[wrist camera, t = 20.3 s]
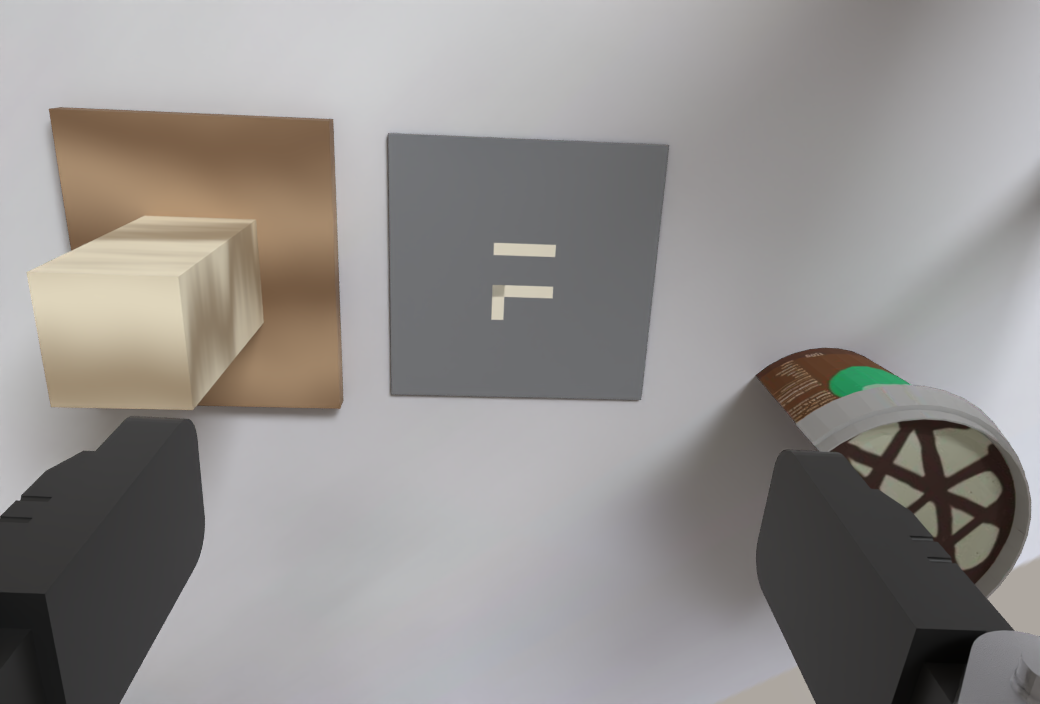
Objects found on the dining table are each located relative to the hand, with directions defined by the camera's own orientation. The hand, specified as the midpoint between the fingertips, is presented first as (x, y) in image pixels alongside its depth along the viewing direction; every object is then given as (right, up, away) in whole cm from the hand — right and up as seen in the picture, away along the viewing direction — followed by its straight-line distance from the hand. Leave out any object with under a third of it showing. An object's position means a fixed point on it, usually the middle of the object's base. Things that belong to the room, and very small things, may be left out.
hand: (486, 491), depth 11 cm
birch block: (-14, +6, +26) cm, 30 cm away
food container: (+18, 0, +31) cm, 36 cm away
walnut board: (-14, +6, +27) cm, 31 cm away
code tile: (+1, +6, +28) cm, 28 cm away
